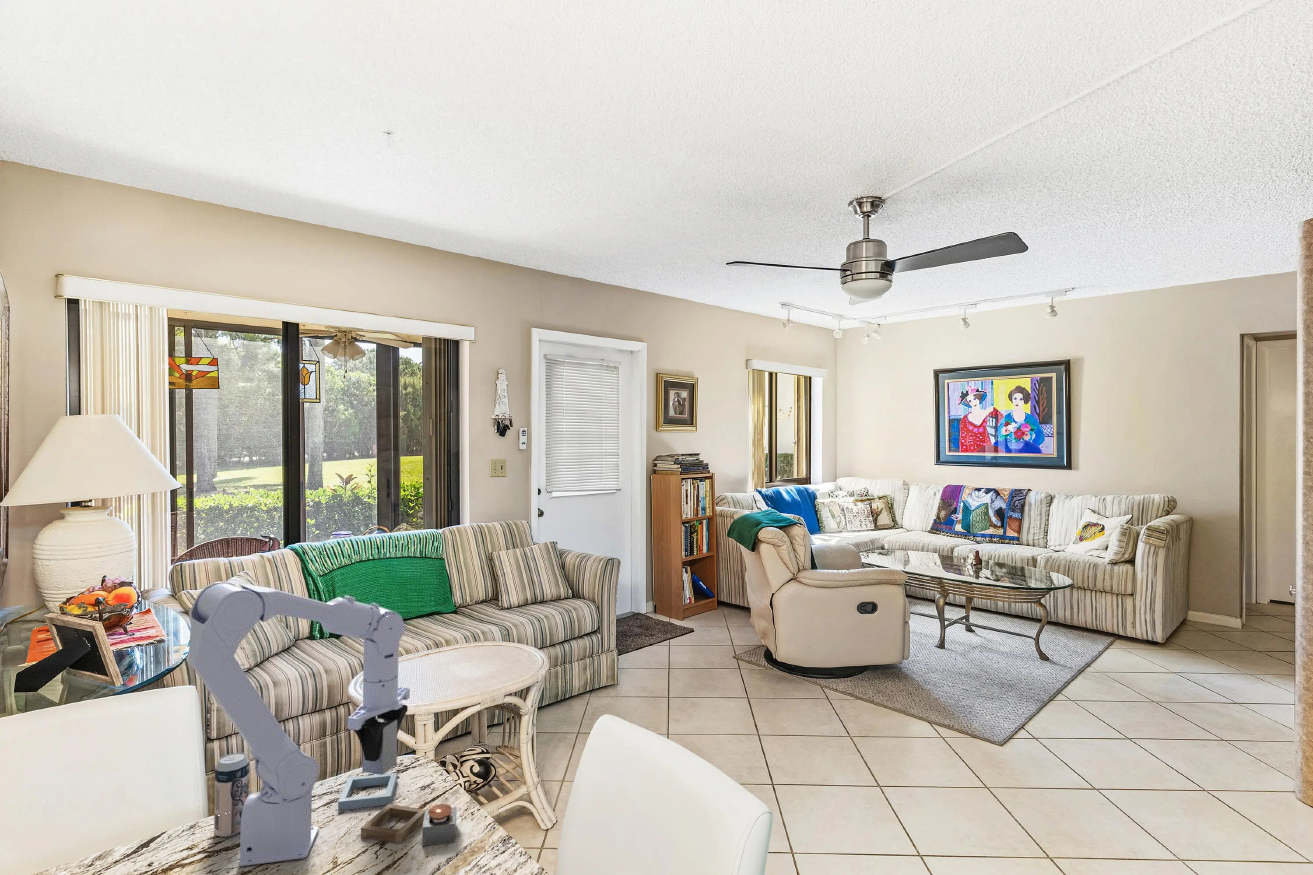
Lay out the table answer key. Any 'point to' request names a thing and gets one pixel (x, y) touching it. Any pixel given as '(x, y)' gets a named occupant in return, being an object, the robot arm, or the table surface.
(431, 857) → the table surface
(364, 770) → the grey metal block
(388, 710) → the robot arm
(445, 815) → the plunger
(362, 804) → the light blue square frame
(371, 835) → the walnut socket
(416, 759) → the table surface
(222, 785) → the beer can
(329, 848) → the table surface
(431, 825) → the frame
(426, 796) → the table surface
